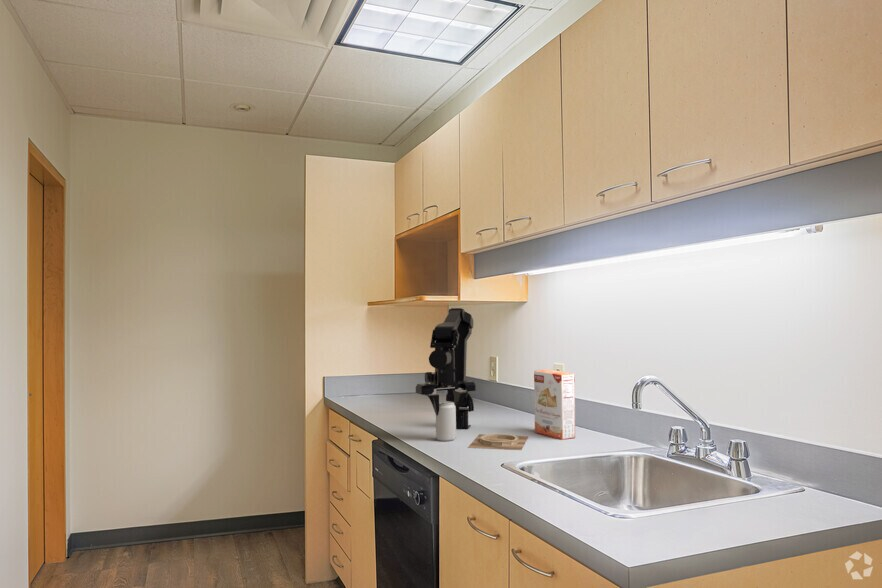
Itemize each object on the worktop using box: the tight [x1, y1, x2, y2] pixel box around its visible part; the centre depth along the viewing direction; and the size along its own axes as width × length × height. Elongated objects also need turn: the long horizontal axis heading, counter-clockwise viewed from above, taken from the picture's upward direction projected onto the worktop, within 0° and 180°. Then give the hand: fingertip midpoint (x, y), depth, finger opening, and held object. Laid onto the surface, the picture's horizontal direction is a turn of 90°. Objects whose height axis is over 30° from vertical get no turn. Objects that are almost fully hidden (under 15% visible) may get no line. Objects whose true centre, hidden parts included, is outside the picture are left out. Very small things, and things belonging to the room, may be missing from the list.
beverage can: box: [435, 400, 457, 442], centre depth 205 cm, size 6×6×12 cm
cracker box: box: [533, 369, 576, 441], centre depth 211 cm, size 14×6×21 cm, turn 30°
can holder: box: [467, 433, 529, 451], centre depth 201 cm, size 20×16×2 cm
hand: (446, 414), depth 205 cm, fingers closed on beverage can, 6 cm apart
